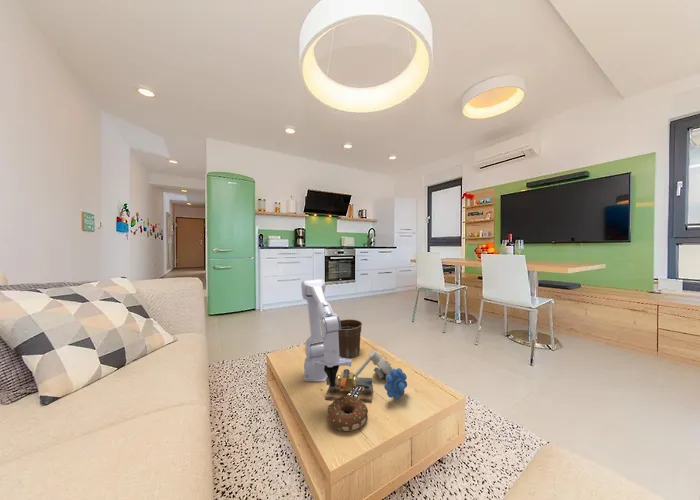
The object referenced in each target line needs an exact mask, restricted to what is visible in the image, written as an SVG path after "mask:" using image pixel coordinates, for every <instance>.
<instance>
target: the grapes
mask: <svg viewBox="0 0 700 500" xmlns="http://www.w3.org/2000/svg"><path fill="white" fill-rule="evenodd" d="M407 378H408V377H407V374H406V373H405V372H403V369H402V368H396V370H395V369H392V370H391V371H390V375H389V374H388V375H385V383H384V385H383V387H384V389H385V391H386V395H387V397H389V398H393V399H394V400H398V399H399V398H400V396H404V394H405V392H406V391H405V390H406V388H407V387H408V382H407Z"/></svg>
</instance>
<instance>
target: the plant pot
mask: <svg viewBox="0 0 700 500" xmlns="http://www.w3.org/2000/svg"><path fill="white" fill-rule="evenodd" d="M340 324H341V328H340V331H338V335H339V357H341V358H346V359H352V358H356V357H357V356H359V355H360V352H361V335H362V333H361V332H362V326H363V322H362V321H360V320H357V319H342V320H341V319H340Z"/></svg>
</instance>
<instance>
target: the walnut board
mask: <svg viewBox="0 0 700 500" xmlns="http://www.w3.org/2000/svg"><path fill="white" fill-rule="evenodd" d="M329 386H330V385H328V388H327V391H326V392H325V393H326V394H325V396H324V400H326V401H335V400H336V399H337V398H340V397H344V396H345V397H346V396H347V394H348V393H349V392H350V391H340V388H339V387H337V386H336V389H335V392H329ZM373 391H374V385H373V384H372V387H370V394H364V387H363V389H362V391H361V393H360V394H359V396H358V399H359V400H361V401H363V403H372V401H373V394H374V393H373Z"/></svg>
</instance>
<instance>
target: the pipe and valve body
mask: <svg viewBox="0 0 700 500" xmlns="http://www.w3.org/2000/svg"><path fill="white" fill-rule="evenodd" d="M349 372H350V371H349ZM354 374H355V372H350V374H349V375H348V377H347V383H346V387H345V389H340V391H353V388H357V387H364V394H370V387H372V385H373V378H372V377H360V376H359V377H358V376H354ZM343 375H344V372H342V371H341V372H340V374H338V375H337V374H336V379H335V385H334V386H331V385H330V381H329V378H328V376H327V378H326V380H325V383H326V385H327V386H328V388H329V392H335V389H336V386H337V387H339V385H340V381H341V378H343ZM329 385H330V386H329Z"/></svg>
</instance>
